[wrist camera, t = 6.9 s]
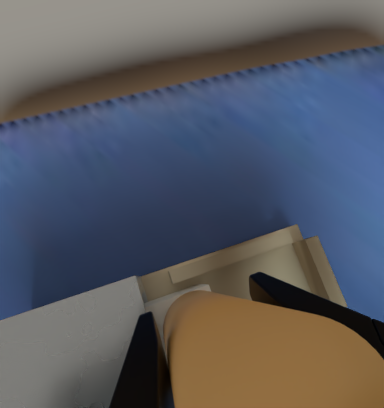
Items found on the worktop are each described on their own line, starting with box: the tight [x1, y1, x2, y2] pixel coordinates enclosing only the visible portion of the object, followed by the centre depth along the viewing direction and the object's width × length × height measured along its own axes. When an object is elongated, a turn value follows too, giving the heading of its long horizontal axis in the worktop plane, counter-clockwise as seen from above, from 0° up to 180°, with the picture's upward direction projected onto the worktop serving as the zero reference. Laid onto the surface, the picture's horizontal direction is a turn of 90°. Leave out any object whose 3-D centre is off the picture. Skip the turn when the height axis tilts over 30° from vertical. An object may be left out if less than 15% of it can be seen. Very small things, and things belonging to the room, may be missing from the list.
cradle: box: [141, 224, 347, 307], centre depth 16 cm, size 10×6×2 cm, turn 109°
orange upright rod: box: [144, 284, 384, 408], centre depth 9 cm, size 8×3×12 cm, turn 109°
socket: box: [0, 275, 148, 408], centre depth 13 cm, size 6×6×6 cm
